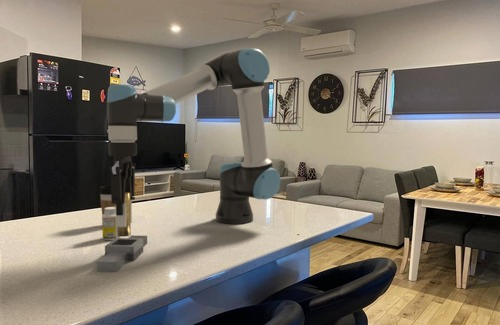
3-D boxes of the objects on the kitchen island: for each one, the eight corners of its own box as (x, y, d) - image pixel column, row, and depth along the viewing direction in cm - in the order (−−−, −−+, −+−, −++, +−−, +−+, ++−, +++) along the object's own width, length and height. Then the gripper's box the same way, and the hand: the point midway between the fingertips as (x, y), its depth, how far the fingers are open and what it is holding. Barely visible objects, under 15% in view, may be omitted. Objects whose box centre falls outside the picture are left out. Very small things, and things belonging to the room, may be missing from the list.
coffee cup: (116, 228, 138) (115, 187, 137) (95, 227, 140) (94, 187, 139) (127, 223, 147) (127, 184, 145) (108, 222, 148) (107, 183, 147)
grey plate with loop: (127, 243, 121) (126, 230, 121) (151, 243, 121) (151, 231, 120) (91, 271, 97) (90, 255, 96) (122, 271, 96) (121, 256, 96)
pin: (132, 233, 110) (131, 192, 109) (127, 236, 106) (127, 194, 105) (120, 233, 110) (119, 191, 109) (115, 236, 106) (114, 193, 105)
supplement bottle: (114, 235, 130) (114, 205, 129) (123, 238, 126) (123, 207, 126) (99, 238, 126) (98, 208, 125) (108, 241, 122) (107, 210, 121)
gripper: (121, 140, 114) (122, 217, 116) (95, 142, 98) (97, 231, 100) (145, 141, 114) (146, 218, 116) (124, 142, 98) (126, 232, 99)
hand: (124, 224), depth 108 cm, fingers closed on pin, 4 cm apart
